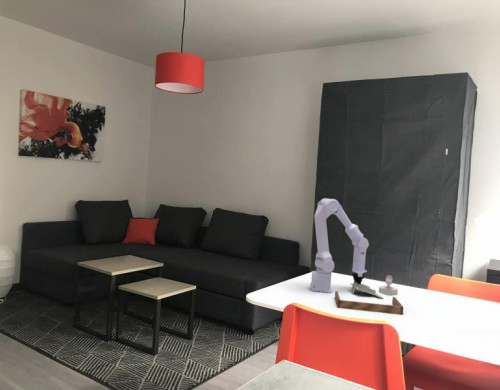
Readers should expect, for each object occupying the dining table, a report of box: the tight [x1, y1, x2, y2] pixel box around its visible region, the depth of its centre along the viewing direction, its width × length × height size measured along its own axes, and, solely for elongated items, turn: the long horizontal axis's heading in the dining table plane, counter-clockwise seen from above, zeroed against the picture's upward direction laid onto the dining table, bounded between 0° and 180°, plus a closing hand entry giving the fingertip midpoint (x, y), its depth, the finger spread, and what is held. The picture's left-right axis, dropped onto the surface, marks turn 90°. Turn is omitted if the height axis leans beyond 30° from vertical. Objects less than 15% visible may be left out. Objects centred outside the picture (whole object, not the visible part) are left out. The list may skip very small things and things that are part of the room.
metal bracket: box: [349, 280, 384, 299], centre depth 199 cm, size 14×6×15 cm
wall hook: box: [378, 274, 399, 296], centre depth 204 cm, size 9×10×10 cm
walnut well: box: [334, 290, 404, 315], centre depth 178 cm, size 26×16×3 cm, turn 82°
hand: (357, 288), depth 205 cm, fingers closed
